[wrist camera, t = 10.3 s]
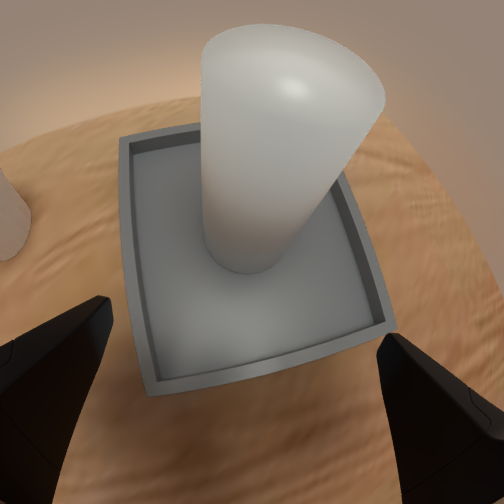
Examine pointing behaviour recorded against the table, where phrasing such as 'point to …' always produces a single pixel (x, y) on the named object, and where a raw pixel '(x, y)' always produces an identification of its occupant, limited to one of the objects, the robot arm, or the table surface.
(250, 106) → the candle
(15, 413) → the robot arm
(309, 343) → the tray
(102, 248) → the table surface
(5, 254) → the shot glass
